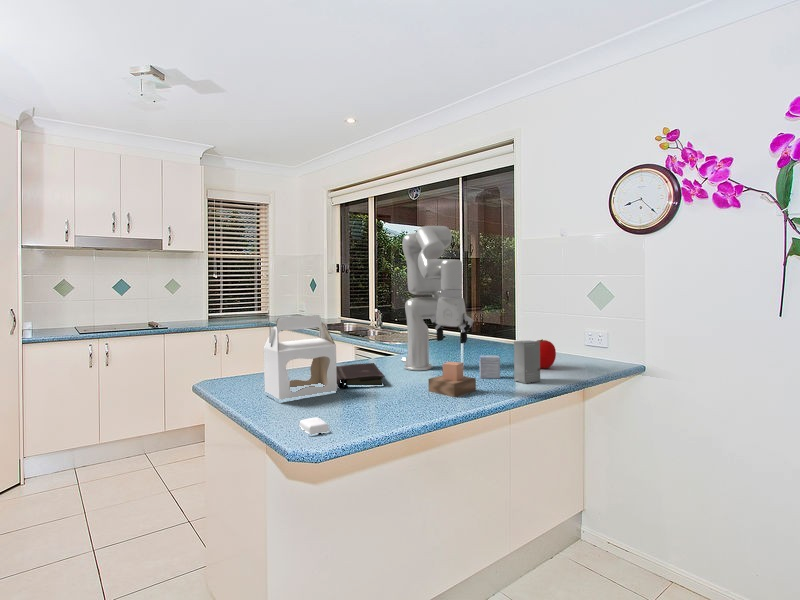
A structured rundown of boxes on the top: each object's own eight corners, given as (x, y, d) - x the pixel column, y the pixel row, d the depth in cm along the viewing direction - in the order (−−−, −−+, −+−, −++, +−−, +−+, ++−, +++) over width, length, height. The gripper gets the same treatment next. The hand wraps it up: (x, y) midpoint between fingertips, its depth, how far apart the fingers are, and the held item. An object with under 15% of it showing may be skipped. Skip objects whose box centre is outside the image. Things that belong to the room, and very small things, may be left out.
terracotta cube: (442, 379, 172) (442, 363, 172) (449, 376, 177) (449, 361, 177) (456, 380, 169) (456, 365, 169) (463, 377, 174) (463, 362, 174)
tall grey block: (525, 384, 183) (525, 342, 182) (512, 380, 189) (512, 340, 188) (541, 381, 187) (541, 341, 186) (528, 378, 193) (528, 338, 192)
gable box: (320, 386, 183) (319, 313, 182) (337, 393, 173) (336, 315, 171) (264, 396, 170) (261, 317, 169) (278, 404, 159) (276, 319, 158)
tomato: (559, 370, 207) (559, 340, 206) (533, 370, 207) (533, 341, 206) (551, 365, 218) (551, 337, 218) (527, 365, 218) (527, 337, 218)
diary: (337, 391, 178) (337, 378, 178) (332, 377, 203) (331, 365, 202) (387, 387, 182) (386, 374, 182) (375, 374, 207) (375, 362, 206)
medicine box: (498, 376, 197) (498, 355, 197) (500, 378, 193) (500, 357, 192) (479, 376, 198) (479, 355, 197) (480, 378, 193) (480, 357, 193)
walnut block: (428, 392, 174) (428, 378, 173) (450, 386, 182) (450, 373, 182) (454, 398, 165) (454, 383, 165) (475, 392, 173) (475, 378, 173)
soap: (296, 429, 134) (296, 418, 134) (319, 425, 138) (319, 415, 137) (308, 438, 126) (307, 427, 126) (332, 433, 130) (331, 423, 130)
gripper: (425, 294, 174) (425, 341, 175) (467, 295, 163) (467, 345, 165) (436, 293, 180) (436, 338, 181) (478, 294, 169) (478, 342, 171)
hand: (451, 341), depth 173 cm, fingers open, 9 cm apart
